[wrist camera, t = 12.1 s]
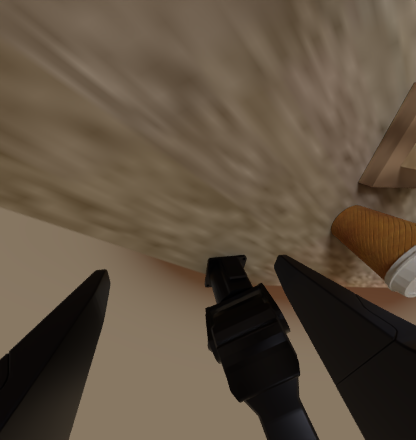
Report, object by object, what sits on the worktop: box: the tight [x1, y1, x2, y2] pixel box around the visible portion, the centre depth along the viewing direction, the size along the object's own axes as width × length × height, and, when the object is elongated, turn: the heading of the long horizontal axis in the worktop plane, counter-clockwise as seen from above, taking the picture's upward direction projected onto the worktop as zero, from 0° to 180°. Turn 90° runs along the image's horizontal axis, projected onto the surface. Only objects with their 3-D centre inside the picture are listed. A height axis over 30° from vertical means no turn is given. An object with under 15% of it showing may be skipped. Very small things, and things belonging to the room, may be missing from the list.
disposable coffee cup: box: [331, 205, 416, 297], centre depth 25 cm, size 10×10×12 cm
